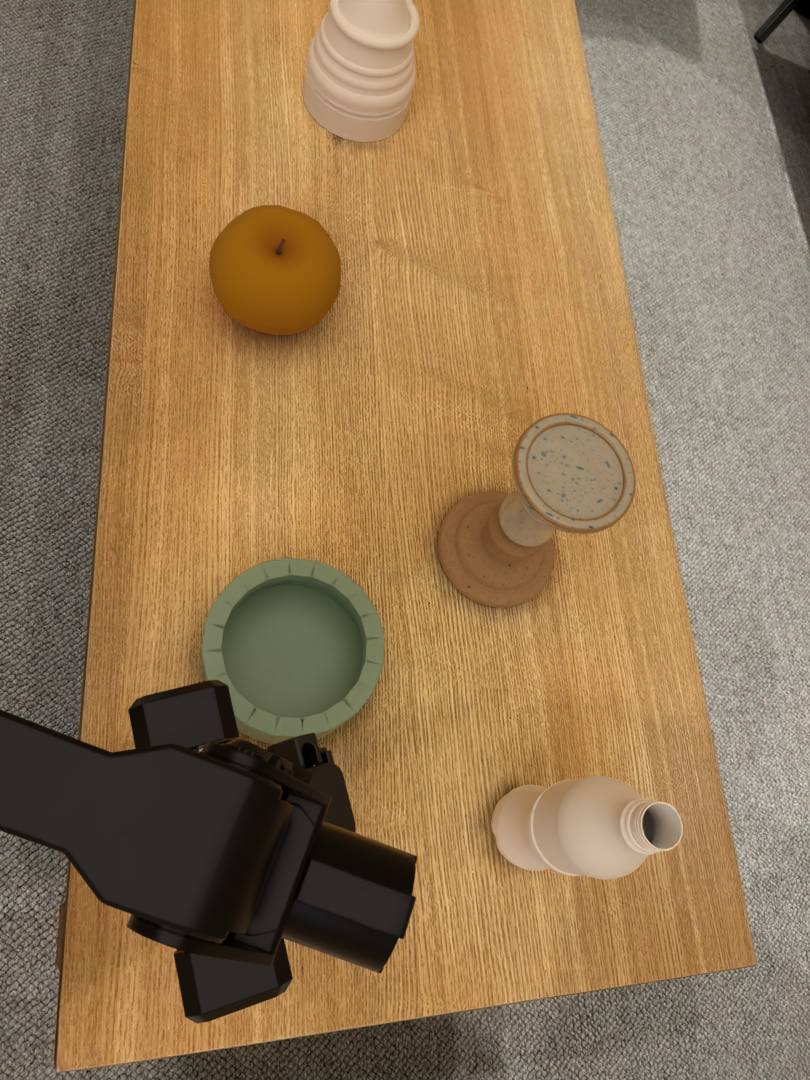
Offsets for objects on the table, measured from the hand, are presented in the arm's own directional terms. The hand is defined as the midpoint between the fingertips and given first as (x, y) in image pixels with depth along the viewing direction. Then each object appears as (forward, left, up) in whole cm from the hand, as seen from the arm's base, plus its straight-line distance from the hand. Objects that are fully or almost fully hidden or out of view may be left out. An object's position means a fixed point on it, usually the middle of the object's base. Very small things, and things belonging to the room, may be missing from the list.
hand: (208, 838), depth 57 cm
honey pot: (+34, +78, -12) cm, 86 cm away
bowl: (+10, +13, -12) cm, 20 cm away
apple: (+17, +50, -12) cm, 54 cm away
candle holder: (+33, +19, -12) cm, 40 cm away
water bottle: (+27, -7, -12) cm, 30 cm away
